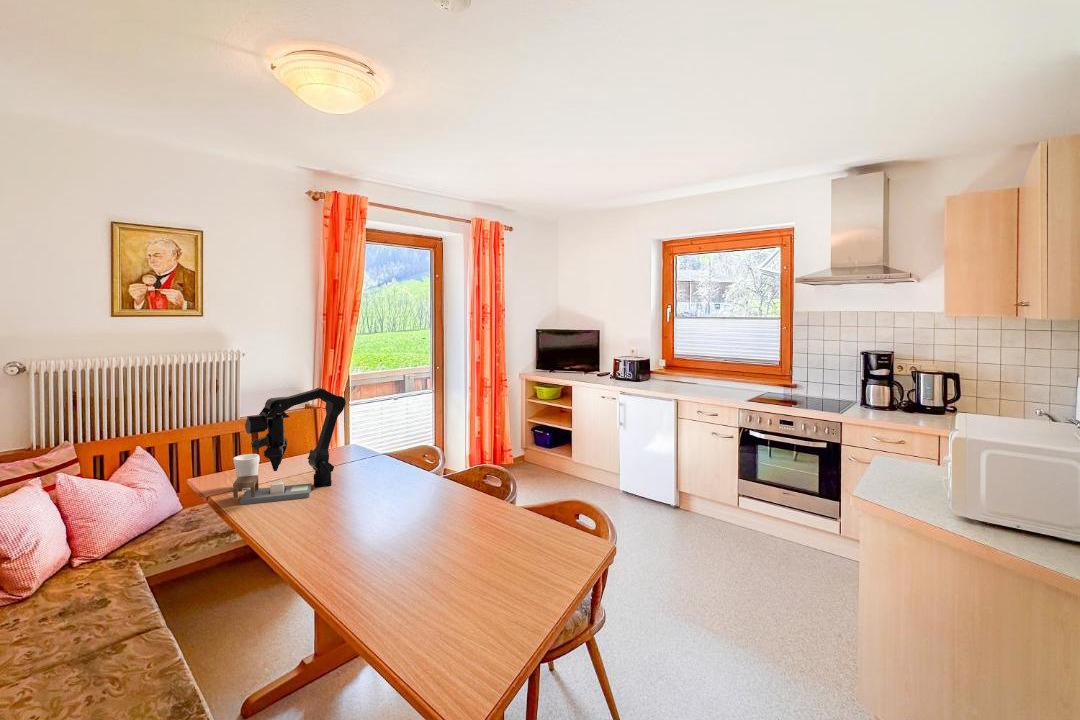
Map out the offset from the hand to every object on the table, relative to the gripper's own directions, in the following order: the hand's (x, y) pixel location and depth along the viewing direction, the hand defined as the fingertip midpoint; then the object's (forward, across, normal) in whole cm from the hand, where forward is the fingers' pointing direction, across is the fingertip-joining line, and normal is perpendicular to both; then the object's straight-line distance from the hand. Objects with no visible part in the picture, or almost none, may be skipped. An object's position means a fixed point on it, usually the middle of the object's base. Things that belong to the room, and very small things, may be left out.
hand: (277, 467), depth 196 cm
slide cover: (+9, 0, -11) cm, 15 cm away
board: (+12, 0, 0) cm, 12 cm away
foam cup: (+12, -16, -14) cm, 24 cm away
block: (+12, 0, 0) cm, 12 cm away
